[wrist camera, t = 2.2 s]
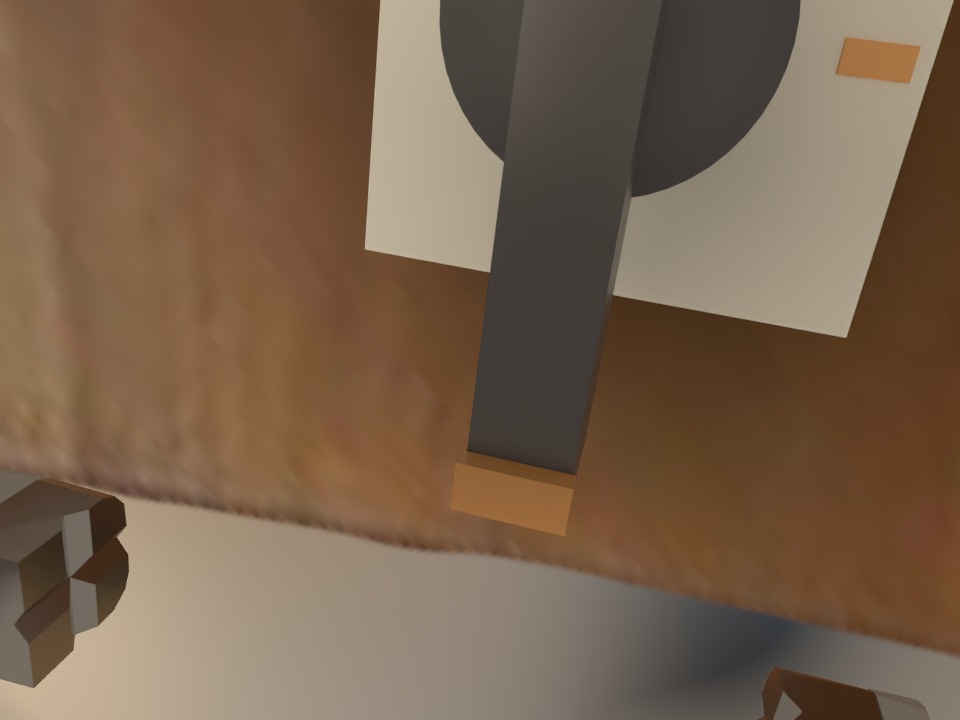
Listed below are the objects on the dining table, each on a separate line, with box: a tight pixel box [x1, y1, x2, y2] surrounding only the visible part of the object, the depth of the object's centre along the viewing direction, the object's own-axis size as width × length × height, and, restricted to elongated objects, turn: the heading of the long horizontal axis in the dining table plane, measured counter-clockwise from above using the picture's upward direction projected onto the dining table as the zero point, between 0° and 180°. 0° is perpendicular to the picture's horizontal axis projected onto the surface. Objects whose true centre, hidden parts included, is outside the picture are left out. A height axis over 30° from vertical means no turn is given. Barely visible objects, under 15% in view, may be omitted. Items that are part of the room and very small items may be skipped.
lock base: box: [365, 0, 954, 338], centre depth 25 cm, size 20×20×12 cm
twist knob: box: [439, 0, 801, 537], centre depth 18 cm, size 14×8×7 cm, turn 173°
